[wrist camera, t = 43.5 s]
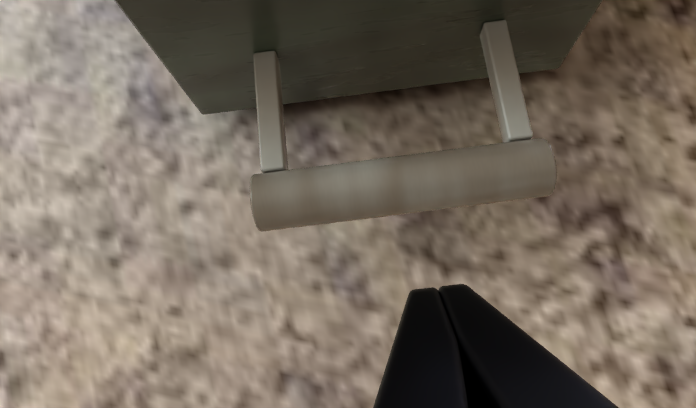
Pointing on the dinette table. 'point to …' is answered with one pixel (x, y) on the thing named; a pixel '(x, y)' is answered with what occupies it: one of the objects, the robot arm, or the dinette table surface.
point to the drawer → (367, 90)
